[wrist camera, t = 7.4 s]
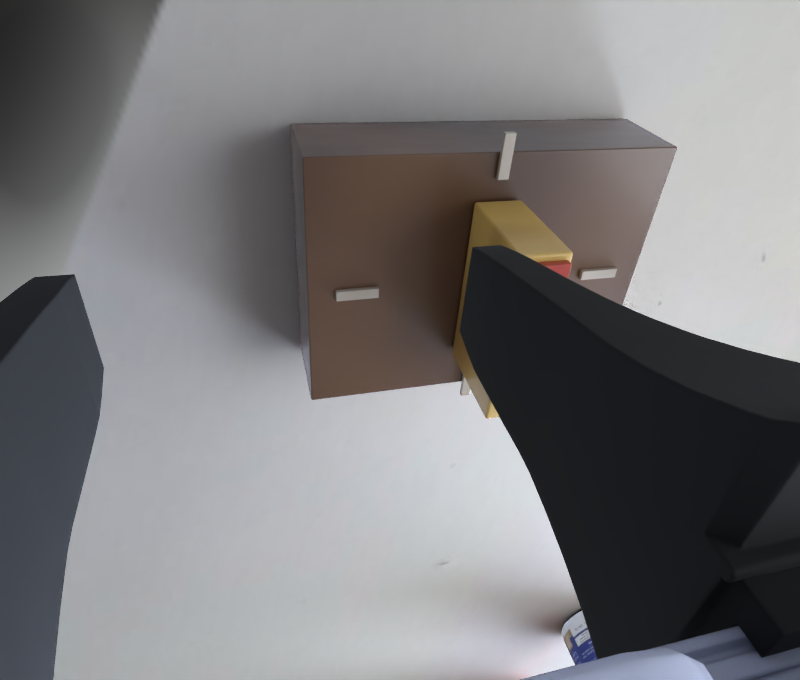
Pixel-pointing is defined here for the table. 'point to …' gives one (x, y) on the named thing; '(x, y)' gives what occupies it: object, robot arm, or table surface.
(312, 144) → the lock plate
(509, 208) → the handle
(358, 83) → the table surface
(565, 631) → the pill bottle
